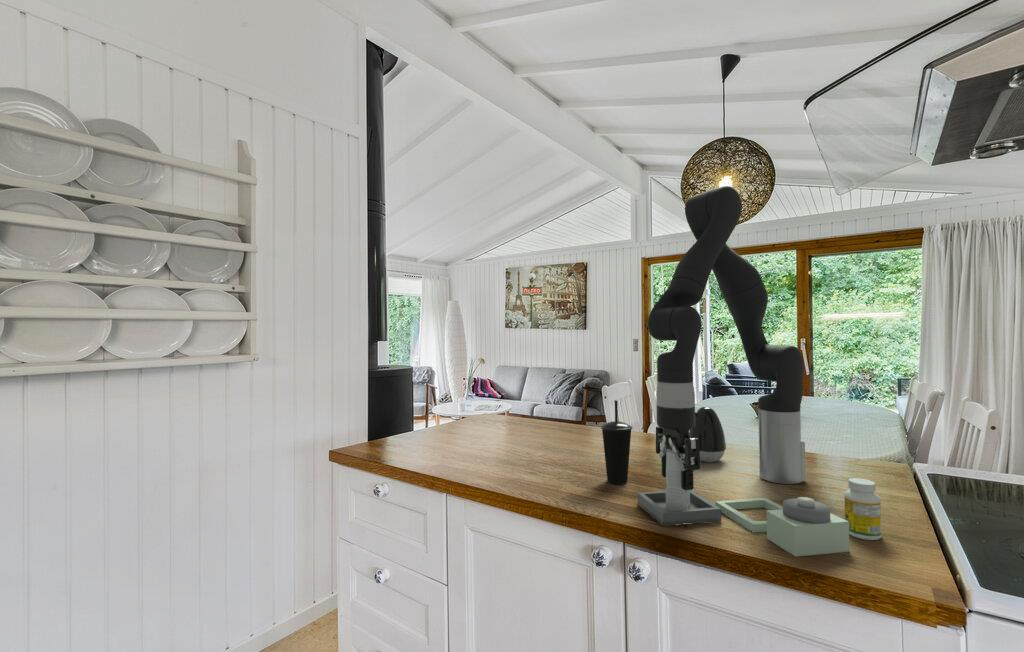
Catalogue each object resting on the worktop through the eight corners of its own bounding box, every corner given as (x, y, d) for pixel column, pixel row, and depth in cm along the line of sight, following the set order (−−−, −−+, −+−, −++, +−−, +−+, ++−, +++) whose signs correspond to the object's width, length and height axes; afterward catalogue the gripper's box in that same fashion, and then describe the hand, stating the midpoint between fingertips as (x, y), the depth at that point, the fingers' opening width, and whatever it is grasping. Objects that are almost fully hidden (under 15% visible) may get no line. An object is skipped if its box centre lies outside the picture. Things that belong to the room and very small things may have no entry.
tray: (689, 500, 107) (689, 489, 107) (721, 521, 95) (721, 508, 95) (637, 504, 105) (637, 492, 105) (663, 526, 93) (663, 513, 93)
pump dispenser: (683, 455, 145) (682, 404, 145) (720, 455, 144) (719, 404, 144) (691, 464, 135) (690, 409, 135) (731, 465, 134) (729, 409, 134)
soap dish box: (765, 504, 103) (764, 468, 104) (852, 551, 82) (851, 504, 82) (715, 508, 102) (714, 471, 102) (791, 556, 80) (790, 509, 80)
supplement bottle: (880, 543, 84) (879, 488, 84) (843, 535, 88) (842, 482, 88) (882, 533, 88) (881, 480, 88) (846, 526, 92) (845, 475, 92)
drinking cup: (627, 488, 116) (625, 403, 116) (597, 483, 120) (595, 401, 120) (637, 479, 122) (636, 399, 122) (608, 475, 126) (607, 398, 126)
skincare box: (669, 502, 103) (668, 445, 104) (691, 505, 102) (690, 447, 102) (665, 512, 98) (664, 452, 98) (688, 515, 96) (687, 454, 96)
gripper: (711, 408, 94) (713, 493, 93) (675, 398, 108) (677, 472, 107) (674, 409, 92) (676, 495, 92) (643, 399, 106) (645, 474, 106)
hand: (676, 482), depth 100 cm, fingers open, 8 cm apart
